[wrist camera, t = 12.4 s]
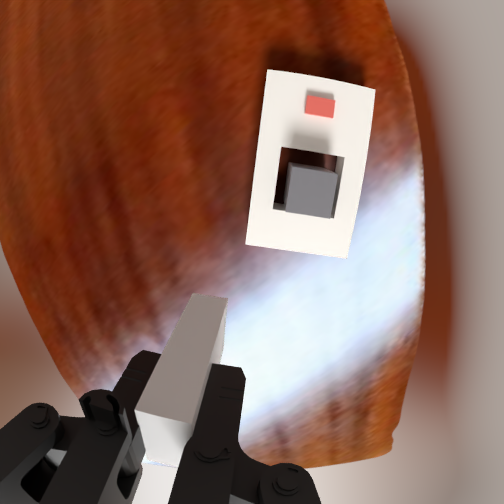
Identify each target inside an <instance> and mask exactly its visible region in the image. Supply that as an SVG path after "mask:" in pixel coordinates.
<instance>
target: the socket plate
mask: <svg viewBox="0 0 504 504" xmlns="http://www.w3.org/2000/svg"><path fill="white" fill-rule="evenodd" d="M374 97H375V90H374V89H371V88H367V87H363V86H359V85H355V84H350V83H346V82H341V81H337V80H332V79H327V78H321V77H316V76H310V75H304V74H298V73H291V72H284V71H276V70H268V69H267V77H266V85H265V92H264V100H263V108H262V116H261V123H260V131H259V139H258V147H257V155H256V163H255V171H254V179H253V187H252V195H251V203H250V211H249V220H248V228H247V236H246V245H253V246H260V247H268V248H275V249H282V250H289V251H296V252H303V253H310V254H317V255H324V256H332V257H339V258H346V259H347V255H348V251H349V246H350V242H351V237H352V233H353V228H354V223H355V219H356V214H357V209H358V204H359V198H360V193H361V188H362V182H363V176H364V170H365V164H366V158H367V152H368V145H369V138H370V131H371V123H372V115H373V106H374ZM281 147H287V148H294V149H300V150H307V151H313V152H318V153H324V154H330V155H335V156H337V162H336V168H335V173H336V174H338V178H337V184H336V189H335V195H334V201H333V206H332V212H331V217H330V219H328V218H322V217H315V216H309V215H302V214H296V213H289V212H285V205H284V204H280V203H274V196H275V189H276V181H277V174H278V167H279V159H280V152H281Z"/></svg>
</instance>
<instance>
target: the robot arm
mask: <svg viewBox="0 0 504 504" xmlns="http://www.w3.org/2000/svg"><path fill="white" fill-rule="evenodd" d="M227 303H228V298H221V297H215V296H208V295H202V294H196V293H193V294H192V296H191V298H190V300H189V301H188V303H187V305H186V307H185V309H184V311H183V313H182V315H181V317H180V319H179V321H178V323H177V325H176V327H175V329H174V331H173V333H172V335H171V337H170V338H169V340H168V342H167V344H166V346H165V348H164V350H163V352H162V354H159V353H154V352H150V351H146V350H142V351H141V352H139V353H138V354H137V355H135V356H134V357H132V359H131V361H130V362H129V364H128V366H127V368H126V369H125V371H124V372H123V374H122V377H120V379H119V381H118V383H117V384H116V386H115V388H114V389H113V391H112V392H111V391H109V390H103V389H98V390H92V391H89V392H87V393H85V394H84V395H83V396H82V397H81V398H80V399H79V402H80V405H81V407H82V410H83V412H84V415H85V417H68V416H60V415H59V414H58V412H57V411H56V410H55V408H54V407H53V406H50V405H49V404H45V403H35V404H31V405H30V406H28V407H26V408H25V409H24V410H23V411H21V413H19V414H18V415H17V416H15V417H14V418H13V419H12V420H11V421H10V422H8V423H7V424H6V425H5V426H4V427H3V428H1V429H0V504H132V501H133V498H134V495H135V493H136V490H137V487H138V484H139V481H140V479H141V475H142V469H143V468H142V465H141V462H142V460H143V457H144V454H146V457H147V460H150V461H154V462H157V463H161V464H165V465H169V466H173V467H178V470H177V474H176V477H175V481H174V484H173V488H172V492H171V495H170V498H169V502H168V504H321V501H320V498H319V496H318V493H317V490H316V488H315V484H314V482H313V479H312V477H311V476H310V474H309V473H308V472H307V471H306V470H305V469H303V468H302V467H301V466H298V465H295V464H292V463H280V464H276V465H273V466H269V465H266V464H263V463H261V462H258V461H256V460H254V459H252V458H250V457H249V456H247V455H246V454H245V453H244V452H243V450H242V449H241V448H240V445H239V442H238V433H239V426H240V419H241V411H242V404H243V396H244V389H245V381H246V378H245V375H244V373H243V371H242V368H240V367H233V366H227V365H221V364H220V360H221V356H222V352H223V346H224V335H225V324H226V314H227Z"/></svg>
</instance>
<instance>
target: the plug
mask: <svg viewBox="0 0 504 504" xmlns="http://www.w3.org/2000/svg"><path fill="white" fill-rule="evenodd" d="M337 178H338V174H336V173H334V172H332V171H330V170H328V169H326V168H323V167H317V166H311V165H305V164H299V163H292V162H288V169H287V176H286V183H285V190H284V197H283V199H284V205H285V212H289V213H296V214H302V215H309V216H315V217H322V218H328V219H330V217H331V212H332V206H333V201H334V195H335V189H336V184H337Z"/></svg>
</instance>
